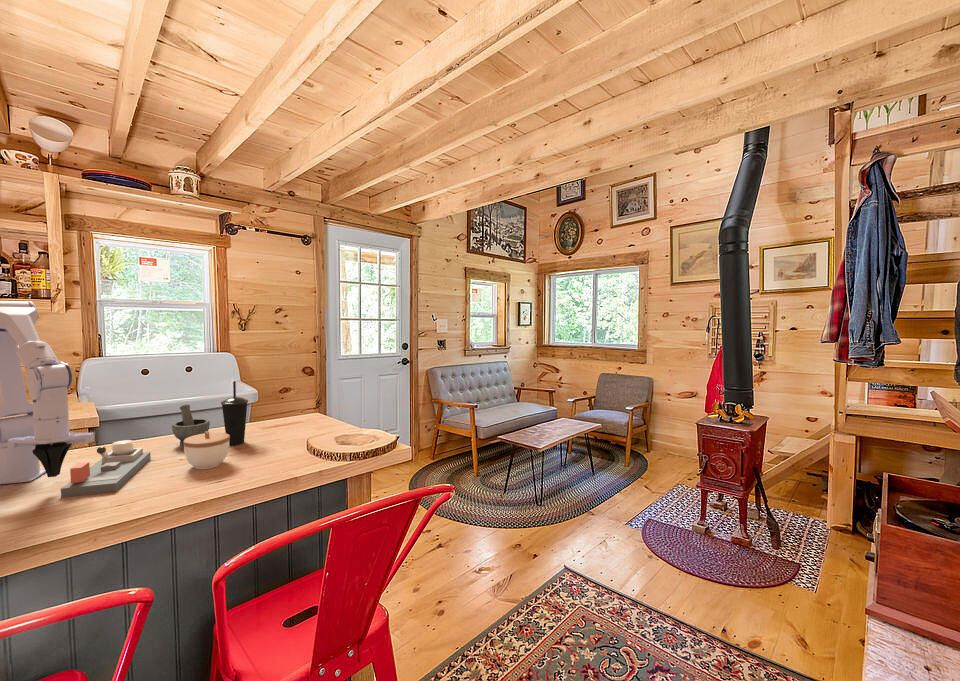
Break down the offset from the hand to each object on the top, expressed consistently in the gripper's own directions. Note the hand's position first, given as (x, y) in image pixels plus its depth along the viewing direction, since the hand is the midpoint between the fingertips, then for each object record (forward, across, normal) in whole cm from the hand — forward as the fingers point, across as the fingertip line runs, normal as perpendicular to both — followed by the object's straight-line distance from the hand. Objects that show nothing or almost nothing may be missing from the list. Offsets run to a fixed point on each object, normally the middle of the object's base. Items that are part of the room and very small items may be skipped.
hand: (53, 475), depth 100 cm
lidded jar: (+4, +29, +9) cm, 30 cm away
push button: (0, +8, +16) cm, 18 cm away
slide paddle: (+2, +5, 0) cm, 5 cm away
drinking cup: (+4, +33, +29) cm, 44 cm away
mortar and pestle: (+4, +20, +33) cm, 39 cm away
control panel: (+4, +8, +8) cm, 12 cm away
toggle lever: (0, +7, +8) cm, 11 cm away
